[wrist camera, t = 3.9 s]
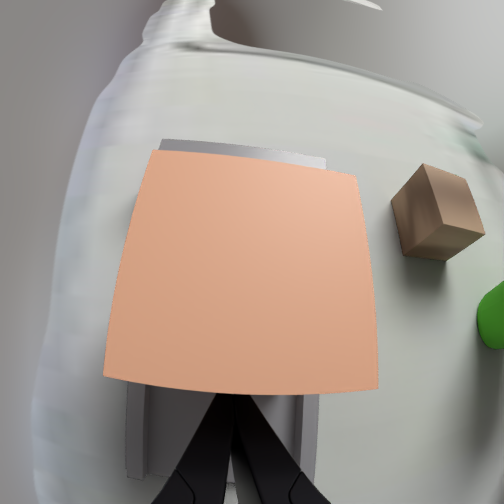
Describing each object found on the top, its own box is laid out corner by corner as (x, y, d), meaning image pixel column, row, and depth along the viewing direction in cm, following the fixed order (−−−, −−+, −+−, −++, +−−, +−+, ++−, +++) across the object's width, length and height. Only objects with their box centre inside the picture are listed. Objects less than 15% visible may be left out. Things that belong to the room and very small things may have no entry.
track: (308, 474, 12) (334, 495, 9) (129, 465, 11) (108, 486, 8) (306, 178, 21) (322, 143, 17) (171, 163, 20) (167, 124, 16)
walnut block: (445, 261, 20) (485, 234, 16) (402, 256, 19) (443, 223, 15) (432, 210, 22) (465, 179, 18) (390, 200, 22) (422, 163, 17)
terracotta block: (283, 385, 14) (378, 389, 6) (165, 377, 13) (103, 376, 5) (285, 277, 16) (355, 175, 8) (177, 267, 16) (152, 149, 7)
